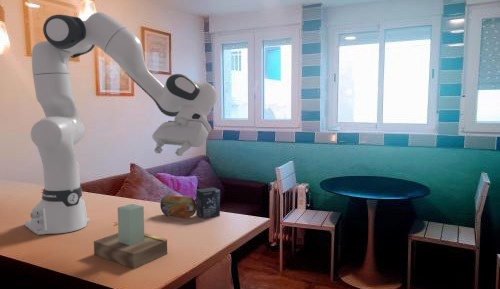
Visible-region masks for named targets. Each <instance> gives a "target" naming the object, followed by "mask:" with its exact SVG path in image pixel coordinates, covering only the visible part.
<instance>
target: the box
mask: <svg viewBox="0 0 500 289" xmlns="http://www.w3.org/2000/svg"><path fill="white" fill-rule="evenodd" d="M195 193H196V195H195V197H196V198H195V200H196V201H195V202H196V212H195V216H197V217H198V218H200V219H202V220H203V219H208V218H214V217H220V216H221V190H220V189H219V188H217V187H207V188H197V189H196V192H195Z"/></svg>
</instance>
